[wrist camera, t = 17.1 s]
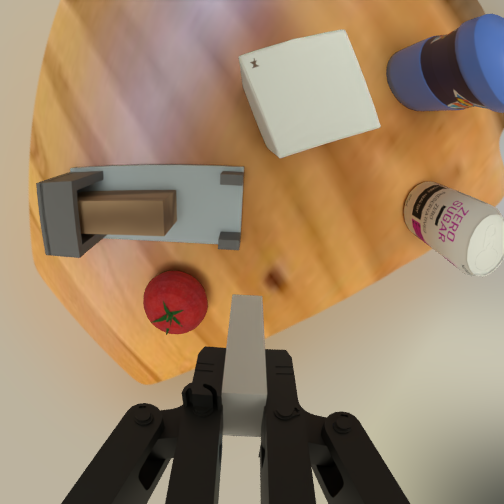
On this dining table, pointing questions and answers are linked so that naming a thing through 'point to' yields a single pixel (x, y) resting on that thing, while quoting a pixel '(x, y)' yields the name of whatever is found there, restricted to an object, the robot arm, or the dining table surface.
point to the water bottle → (453, 69)
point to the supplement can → (457, 227)
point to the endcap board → (146, 178)
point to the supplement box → (307, 92)
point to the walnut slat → (127, 212)
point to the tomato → (175, 302)
